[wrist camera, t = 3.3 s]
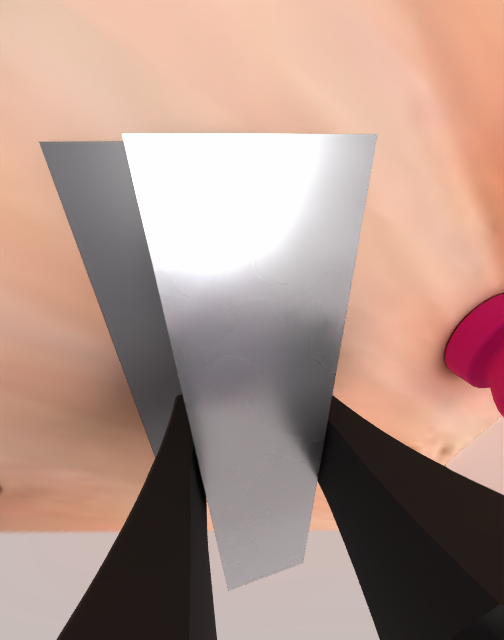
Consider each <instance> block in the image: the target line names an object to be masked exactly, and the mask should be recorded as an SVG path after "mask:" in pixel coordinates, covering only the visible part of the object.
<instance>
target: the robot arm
mask: <svg viewBox="0 0 504 640" xmlns="http://www.w3.org/2000/svg"><path fill="white" fill-rule="evenodd" d="M317 481H318V483H319V485H320V487H321V489H322V491H323V493H324V495H325V497H326V499H327V502H328V504H329V506H330V508H331V511H332V513H333V516H334V518H335V521H336V523H337V526H338V528H339V531H340V533H341V536H342V538H343V541H344V543H345V546H346V549H347V551H348V554H349V556H350V559H351V561H352V564H353V567H354V569H355V572H356V575H357V577H358V580H359V583H360V585H361V588H362V591H363V594H364V596H365V599H366V602H367V605H368V607H369V610H370V613H371V616H372V618H373V621H374V624H375V627H376V630H377V633H378V636H379V638H380V640H504V495H503V494H501V493H498V492H496V491H494V490H492V489H490V488H488V487H486V486H483V485H481V484H479V483H477V482H475V481H473V480H471V479H469V478H466V477H464V476H462V475H460V474H458V473H456V472H454V471H452V470H450V469H448V468H447V467H445V466H443V465H441V464H439V463H437V462H435V461H433V460H431V459H430V458H428V457H426V456H424V455H422V454H420V453H418V452H417V451H415V450H413V449H411V448H410V447H408V446H406V445H405V444H403V443H401V442H400V441H398V440H396V439H395V438H393V437H391V436H390V435H388V434H386V433H385V432H383V431H382V430H380V429H379V428H377V427H376V426H374V425H373V424H371V423H370V422H368V421H367V420H365V419H364V418H362V417H361V416H360V415H358V414H357V413H355V412H354V411H353V410H351V409H350V408H349V407H347V406H346V405H345V404H343V403H342V402H341V401H339V400H338V399H337V398H335V397H334V396H333V395H332V399H331V405H330V411H329V416H328V422H327V428H326V434H325V439H324V445H323V451H322V457H321V462H320V468H319V474H318V480H317ZM57 640H217V635H216V625H215V615H214V604H213V595H212V584H211V573H210V562H209V552H208V538H207V504H206V493H205V489H204V484H203V480H202V476H201V471H200V467H199V463H198V459H197V454H196V450H195V446H194V441H193V437H192V433H191V428H190V424H189V420H188V415H187V411H186V407H185V402H184V398H183V394H181V395H178V396H177V397H176V398H175V402H174V406H173V410H172V414H171V417H170V420H169V423H168V426H167V429H166V432H165V435H164V437H163V440H162V443H161V445H160V448H159V451H158V453H157V456H156V458H155V460H154V463H153V465H152V467H151V469H150V472H149V474H148V476H147V479H146V481H145V483H144V485H143V488H142V490H141V492H140V494H139V496H138V498H137V500H136V502H135V504H134V506H133V508H132V510H131V512H130V514H129V516H128V518H127V520H126V522H125V524H124V526H123V528H122V529H121V531H120V533H119V535H118V537H117V539H116V540H115V542H114V544H113V546H112V548H111V549H110V551H109V553H108V555H107V557H106V559H105V560H104V562H103V564H102V566H101V567H100V569H99V571H98V573H97V574H96V576H95V578H94V579H93V581H92V583H91V584H90V586H89V588H88V590H87V591H86V593H85V594H84V596H83V598H82V599H81V601H80V603H79V604H78V606H77V607H76V609H75V611H74V612H73V614H72V615H71V617H70V619H69V620H68V622H67V624H66V625H65V627H64V629H63V630H62V632H61V633H60V635H59V637H58V638H57Z"/></svg>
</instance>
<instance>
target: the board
mask: <svg viewBox="0 0 504 640" xmlns="http://www.w3.org/2000/svg"><path fill="white" fill-rule="evenodd" d="M39 143H40V146H41V148H42V151H43V154H44V156H45V159H46V162H47V165H48V167H49V170H50V173H51V175H52V178H53V181H54V184H55V186H56V189H57V192H58V194H59V197H60V200H61V203H62V205H63V208H64V211H65V213H66V216H67V219H68V222H69V224H70V227H71V230H72V232H73V235H74V238H75V241H76V243H77V246H78V249H79V251H80V254H81V257H82V260H83V262H84V265H85V268H86V270H87V273H88V276H89V279H90V281H91V284H92V287H93V289H94V292H95V295H96V298H97V300H98V303H99V306H100V308H101V311H102V314H103V317H104V319H105V322H106V325H107V327H108V330H109V333H110V336H111V338H112V341H113V344H114V346H115V349H116V352H117V355H118V357H119V360H120V363H121V365H122V368H123V371H124V374H125V376H126V379H127V382H128V384H129V387H130V390H131V393H132V395H133V398H134V401H135V403H136V406H137V409H138V412H139V414H140V417H141V420H142V422H143V425H144V428H145V431H146V433H147V436H148V439H149V441H150V444H151V447H152V450H153V452H154V455H155V458H156V456H157V453H158V451H159V448H160V445H161V443H162V440H163V437H164V435H165V432H166V429H167V426H168V423H169V420H170V417H171V414H172V410H173V406H174V402H175V398H176V397H177V396H178V395H181V394H182V390H181V385H180V381H179V377H178V372H177V368H176V364H175V359H174V355H173V351H172V346H171V342H170V338H169V333H168V329H167V325H166V320H165V316H164V312H163V308H162V303H161V299H160V295H159V290H158V286H157V282H156V277H155V273H154V269H153V264H152V260H151V256H150V251H149V247H148V243H147V238H146V234H145V230H144V226H143V221H142V217H141V213H140V208H139V204H138V200H137V195H136V191H135V187H134V182H133V178H132V174H131V169H130V165H129V161H128V157H127V152H126V148H125V144H124V142H39Z"/></svg>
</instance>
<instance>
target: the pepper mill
mask: <svg viewBox="0 0 504 640" xmlns="http://www.w3.org/2000/svg"><path fill="white" fill-rule="evenodd" d="M445 362H446V365H447V367H448V368H449V369H450V371H452V372H453V373H455V374H456V375H458V376H459V377H461V378H462V379H464V380H465V381H466V382H468V383H469V384H471V385H472V386H474V387H478V388H491V392H492V396H493V400H494V402H495V404H496V406H497V409H498V411H499V412H500V413H501V415H502V416H503V417H504V294H501V295H498V296H495V297H493V298H491V299H489V300H488V301H486V302H484V303H483V304H481V305H480V306H478V307H477V308H476V309H475V310H473V311H472V312H471V313H470V314H469V315H468V316H467V317H466V318H465V319H464V320H463V321H462V322H461V323H460V325H459V326H458V327H457V329H456V330H455V332H454V333H453V335H452V337H451V338H450V341H449V343H448V345H447V348H446V354H445Z"/></svg>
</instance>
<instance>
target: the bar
mask: <svg viewBox="0 0 504 640" xmlns="http://www.w3.org/2000/svg"><path fill="white" fill-rule="evenodd" d="M122 135H123V139H124V144H125V148H126V152H127V157H128V161H129V165H130V169H131V174H132V178H133V182H134V187H135V191H136V195H137V200H138V204H139V208H140V213H141V217H142V221H143V226H144V230H145V234H146V238H147V243H148V247H149V251H150V256H151V260H152V264H153V269H154V273H155V277H156V282H157V286H158V290H159V295H160V299H161V303H162V308H163V312H164V316H165V320H166V325H167V329H168V333H169V338H170V342H171V346H172V351H173V355H174V359H175V364H176V368H177V372H178V377H179V381H180V385H181V390H182V394H183V398H184V402H185V407H186V411H187V415H188V420H189V424H190V428H191V433H192V437H193V441H194V446H195V450H196V454H197V459H198V463H199V467H200V471H201V476H202V480H203V484H204V489H205V493H206V497H207V502H208V506H209V510H210V515H211V519H212V523H213V528H214V532H215V536H216V541H217V545H218V549H219V553H220V558H221V562H222V566H223V571H224V575H225V579H226V584H227V588H228V591H229V590H232V589H235V588H237V587H240V586H243V585H246V584H248V583H251V582H254V581H256V580H259V579H262V578H264V577H267V576H269V575H272V574H275V573H278V572H280V571H283V570H285V569H288V568H291V567H294V566H296V565H299V564H302V563H303V560H304V555H305V549H306V543H307V538H308V532H309V526H310V520H311V514H312V509H313V503H314V497H315V491H316V486H317V480H318V474H319V468H320V462H321V457H322V451H323V445H324V439H325V434H326V428H327V422H328V416H329V411H330V405H331V399H332V393H333V387H334V382H335V376H336V370H337V364H338V359H339V353H340V347H341V341H342V335H343V330H344V324H345V318H346V312H347V307H348V301H349V295H350V289H351V284H352V278H353V272H354V266H355V260H356V255H357V249H358V243H359V237H360V232H361V226H362V220H363V214H364V208H365V203H366V197H367V191H368V185H369V180H370V174H371V168H372V162H373V157H374V151H375V145H376V139H377V134H122Z"/></svg>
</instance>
